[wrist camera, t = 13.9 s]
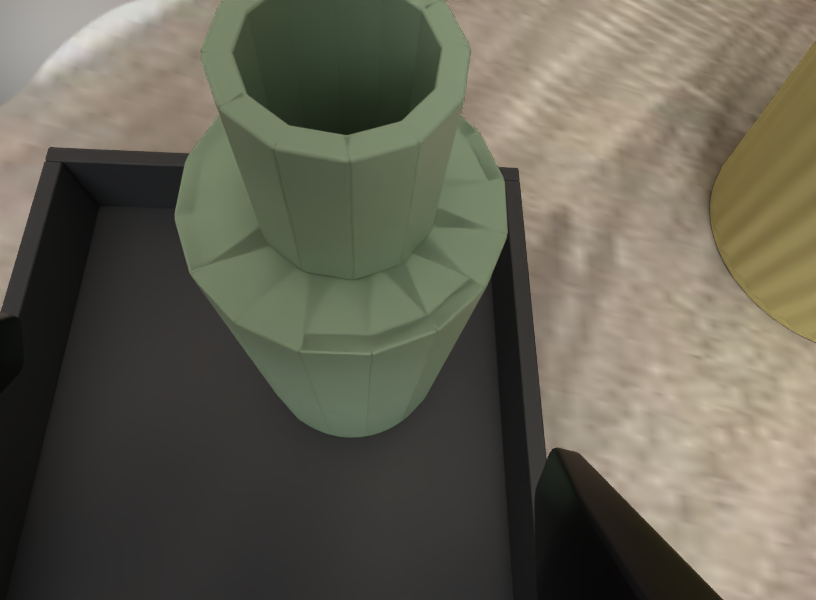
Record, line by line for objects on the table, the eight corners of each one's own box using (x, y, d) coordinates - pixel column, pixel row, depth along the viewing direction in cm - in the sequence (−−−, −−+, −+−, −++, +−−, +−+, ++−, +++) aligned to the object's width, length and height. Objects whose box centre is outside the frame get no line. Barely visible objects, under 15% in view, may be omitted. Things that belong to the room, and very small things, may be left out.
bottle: (460, 401, 20) (661, 177, 7) (299, 464, 19) (143, 343, 5) (400, 260, 22) (461, -136, 9) (251, 308, 21) (47, -68, 7)
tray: (544, 834, 16) (591, 916, 13) (-71, 866, 15) (-193, 967, 11) (497, 214, 24) (518, 167, 20) (93, 199, 22) (47, 146, 19)
